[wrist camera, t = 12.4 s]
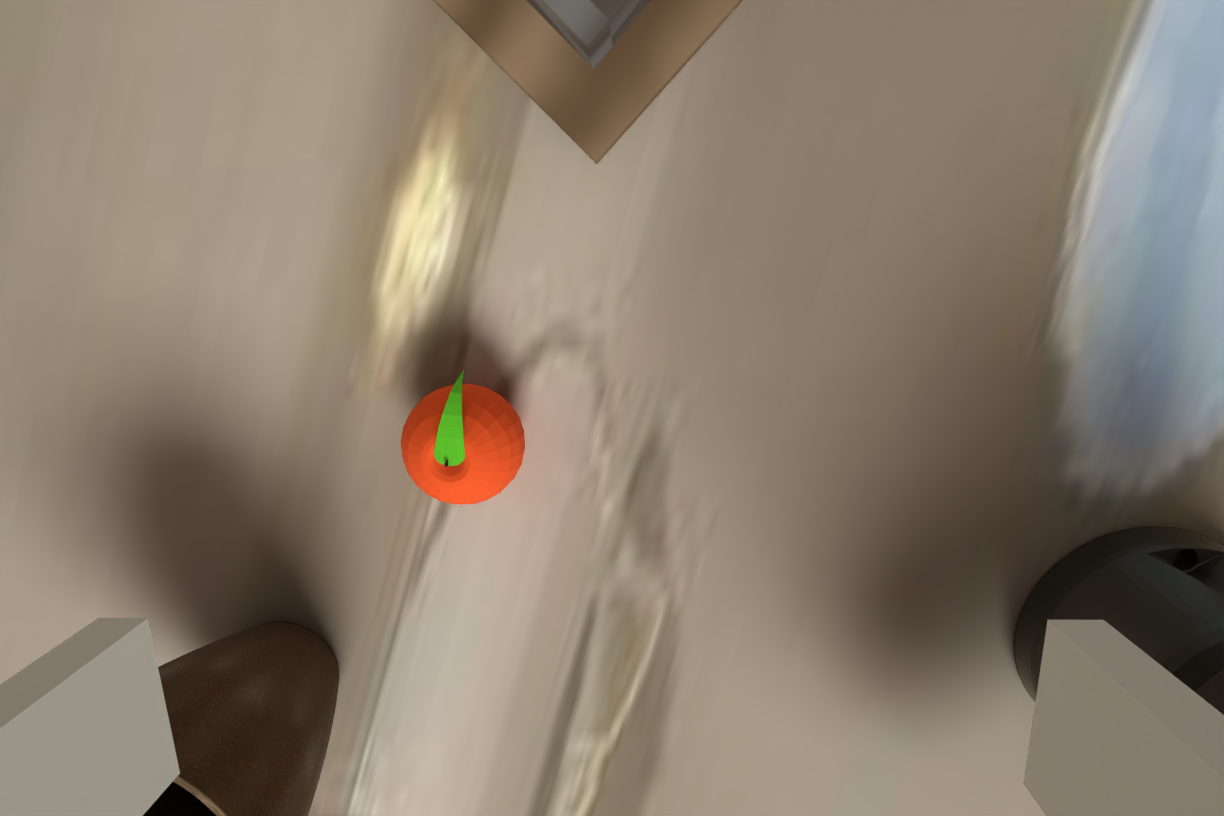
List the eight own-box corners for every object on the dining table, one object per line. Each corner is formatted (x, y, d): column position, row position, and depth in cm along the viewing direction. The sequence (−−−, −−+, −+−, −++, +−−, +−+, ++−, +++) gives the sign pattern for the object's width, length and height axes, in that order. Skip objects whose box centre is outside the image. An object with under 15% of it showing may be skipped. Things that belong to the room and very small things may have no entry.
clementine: (425, 350, 40) (381, 371, 33) (538, 362, 40) (518, 385, 33) (421, 474, 42) (379, 518, 35) (529, 485, 42) (508, 532, 35)
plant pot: (251, 786, 48) (66, 1043, 32) (138, 618, 45) (-126, 813, 29) (429, 718, 46) (323, 957, 30) (322, 538, 43) (145, 701, 28)
